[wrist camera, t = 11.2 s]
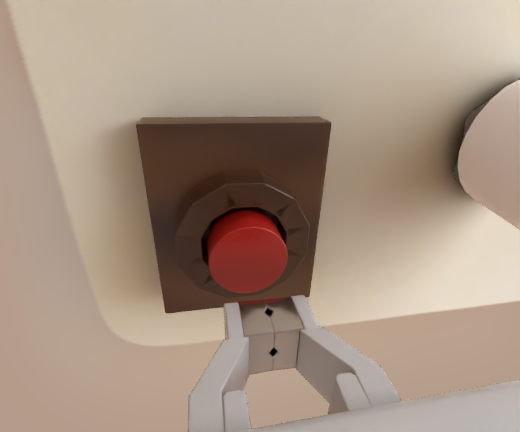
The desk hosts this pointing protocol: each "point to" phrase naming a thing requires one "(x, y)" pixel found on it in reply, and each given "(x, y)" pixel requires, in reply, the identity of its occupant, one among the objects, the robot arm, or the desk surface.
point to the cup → (493, 154)
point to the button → (246, 251)
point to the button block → (231, 196)
